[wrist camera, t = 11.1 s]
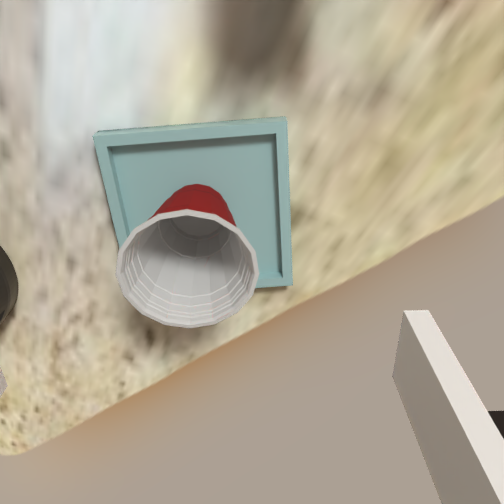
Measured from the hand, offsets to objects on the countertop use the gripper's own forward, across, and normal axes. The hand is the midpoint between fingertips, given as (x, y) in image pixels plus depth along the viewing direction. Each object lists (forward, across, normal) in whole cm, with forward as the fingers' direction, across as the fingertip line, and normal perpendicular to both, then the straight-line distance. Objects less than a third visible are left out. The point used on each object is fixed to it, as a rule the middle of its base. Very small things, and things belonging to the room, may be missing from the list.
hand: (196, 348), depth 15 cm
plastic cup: (+30, -3, -8) cm, 32 cm away
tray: (+31, -3, -8) cm, 32 cm away
